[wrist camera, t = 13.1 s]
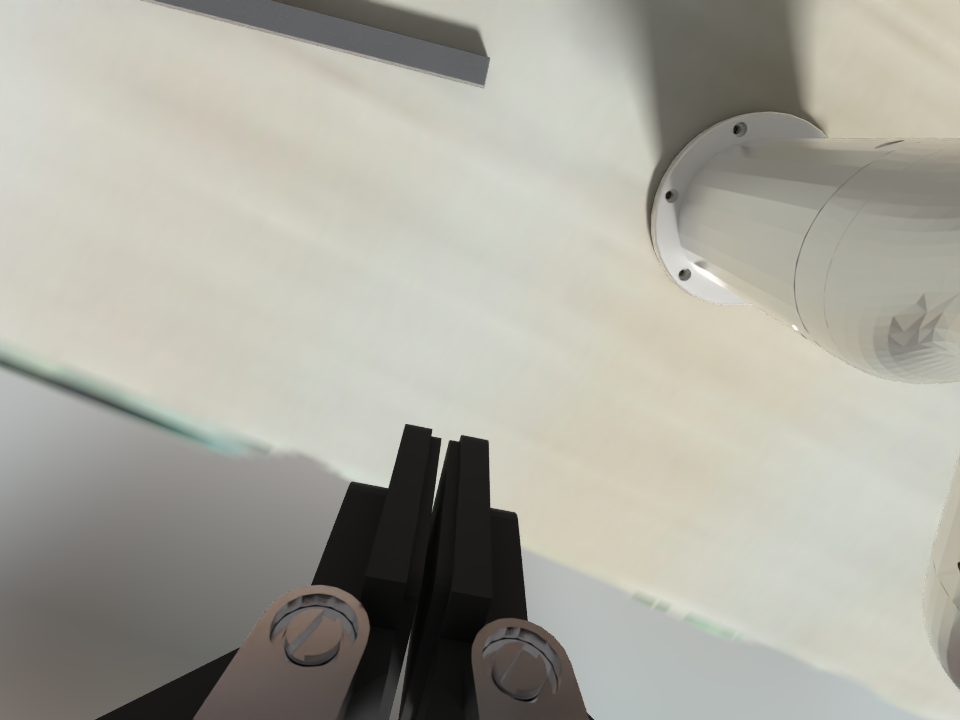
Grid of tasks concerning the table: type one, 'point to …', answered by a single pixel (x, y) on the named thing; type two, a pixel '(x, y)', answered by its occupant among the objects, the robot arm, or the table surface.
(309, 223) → the table surface
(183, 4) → the guide track
